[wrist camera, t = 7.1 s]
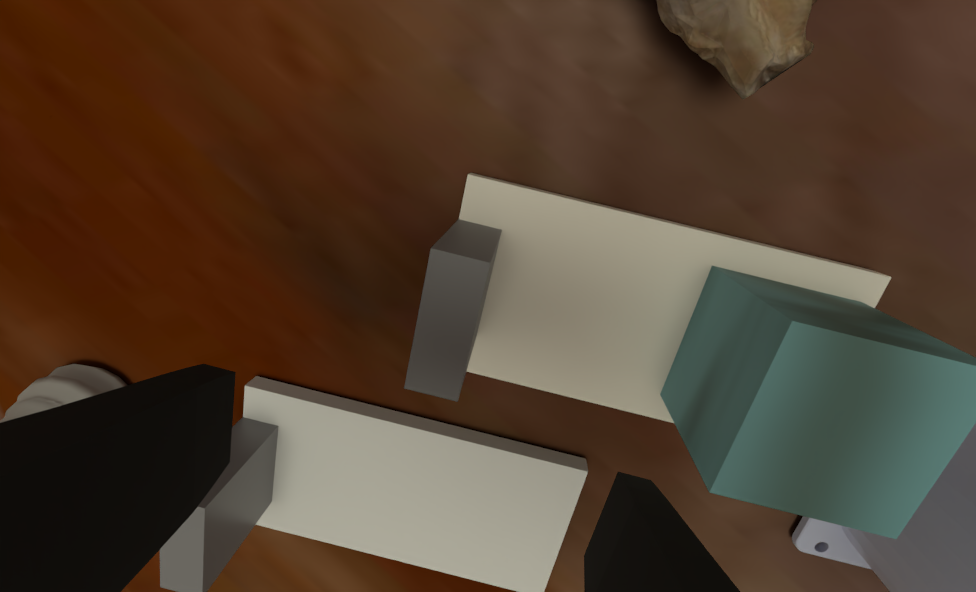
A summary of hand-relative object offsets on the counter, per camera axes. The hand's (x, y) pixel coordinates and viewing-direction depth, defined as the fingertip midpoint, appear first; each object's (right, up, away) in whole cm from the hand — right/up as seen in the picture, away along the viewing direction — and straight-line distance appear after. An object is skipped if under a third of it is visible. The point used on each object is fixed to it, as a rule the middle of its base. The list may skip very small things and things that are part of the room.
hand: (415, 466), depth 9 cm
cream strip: (+7, +2, +8) cm, 11 cm away
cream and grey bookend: (-2, -5, +12) cm, 13 cm away
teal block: (+11, +1, +7) cm, 13 cm away
